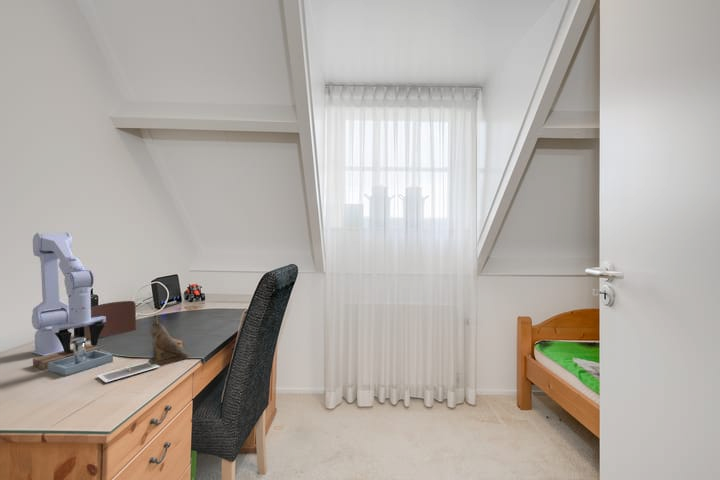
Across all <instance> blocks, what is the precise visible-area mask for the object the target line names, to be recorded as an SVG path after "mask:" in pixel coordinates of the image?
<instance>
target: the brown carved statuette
mask: <svg viewBox="0 0 720 480" xmlns="http://www.w3.org/2000/svg"><path fill="white" fill-rule="evenodd" d="M153 322H154V323H153V324H152V325H151V330H150V335H151V338H152V339H151V340H152V341H151V344H152V347H153V350H154V351H155V356H154V357H150V358H149V359H148V361H149V363H150V364H151V365H153V364H157V365H159V366H162V365H163V364H164V365H165V364H169V363H171V364H172V363H176V362H179V361H184V360H187V359H188V358H189V353H188V352H187V350H185V348H184V347H183V348H184V349H183V348H182V347H181V346H180V345H179V344H178V343H177V342H176V341H175V340H174V339H175V338H173V337H172V336H171V335H170V334H169V332H168V331H167V329H166V327H165V326H164V325H163V324H162V323H160V322H159V321H158V317H157V315H154V316H153Z"/></svg>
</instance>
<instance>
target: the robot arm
mask: <svg viewBox="0 0 720 480" xmlns="http://www.w3.org/2000/svg"><path fill="white" fill-rule="evenodd" d="M72 247H73V238H72V235H71V234H70V233H69V232H62V233H61V232H49V233H48V232H47V233H46V232H44V233H43V232H42V233H40V232H36V233H35V234H34V235H33V237H32V251H33V252H32V253H33V256H35V257H38V258H39V261H40V273H41V274H40V277H41V292H42V293H41V294H42V301H41V302H40V303H39V304H37V305H36V306H34V308H33V309H32V315H31V325H32V327H33V329H35V330H36V331H35V333H34V350H32V351H31V353H33V354H35V355H38V356H41V357H42V356H45V355H49V354H53V353H57V352H61V351H64V352H65V353H70V349H71V340H72V339H71V336H72V333H73V332H70V331H69V330H72V329H73V330H74V328H78V327H83V326H87V325H89V329H90V335H91V340H90V345H92V346H96V347H97V345H98V341H99V339H100V338H99V335H100V333H101V331H102V329H103V328H104V323H103V322H106V316H99V317H93V318H91V307H92V303H91V299H92V298H91V296H92V295H91V288H92V287H93V286H94V283H95V282H94V281H95V279H94V274H93V272H92V270H90V269H88V268H85V267H84V265H83V263H82V262H81V260H80V259H79V258H78V257H77V256H74V254H73V253H72V250H71V248H72ZM58 260H59V261H58ZM59 268H60V271H61V274H62V275H63V276H64V287H65V291H66V295H67V297H68V299H67V301H68V302H67V303H66V302H64V301H62V300H60V299H61V298H60V279H59Z"/></svg>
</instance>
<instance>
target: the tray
mask: <svg viewBox="0 0 720 480" xmlns="http://www.w3.org/2000/svg"><path fill="white" fill-rule="evenodd" d="M113 362H114V354H113V353H109V352H105V351H101V350H100V351H98V350H93V351H89V352H86V362H83V363H79V364H76V365H75V358H74V356H71V357H67V358H64V359H60V360H56V361H53V362H49V363H48V369H47V372H51V373H55V374H56V375H60V376H63V377H69V376H72V375H75V374H79V373H82V372H84V370H85V371H87V370H91V369H93V368H97V367H99V366H104V365H106V364H110V363H113Z"/></svg>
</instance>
